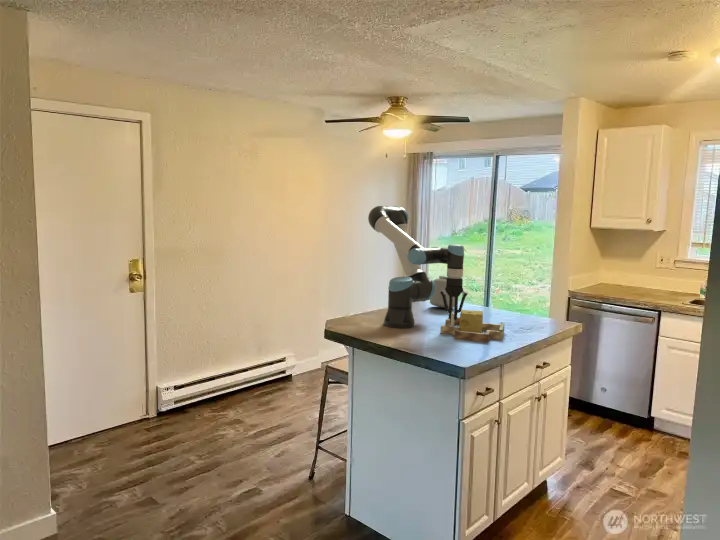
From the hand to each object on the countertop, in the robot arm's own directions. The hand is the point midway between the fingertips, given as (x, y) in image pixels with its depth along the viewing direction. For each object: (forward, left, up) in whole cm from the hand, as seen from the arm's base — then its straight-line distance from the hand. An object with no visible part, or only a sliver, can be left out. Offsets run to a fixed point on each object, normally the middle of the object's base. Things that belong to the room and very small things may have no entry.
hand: (452, 326), depth 256 cm
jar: (-12, +55, -2) cm, 57 cm away
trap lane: (+10, 0, -2) cm, 10 cm away
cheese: (+8, 0, -2) cm, 9 cm away
